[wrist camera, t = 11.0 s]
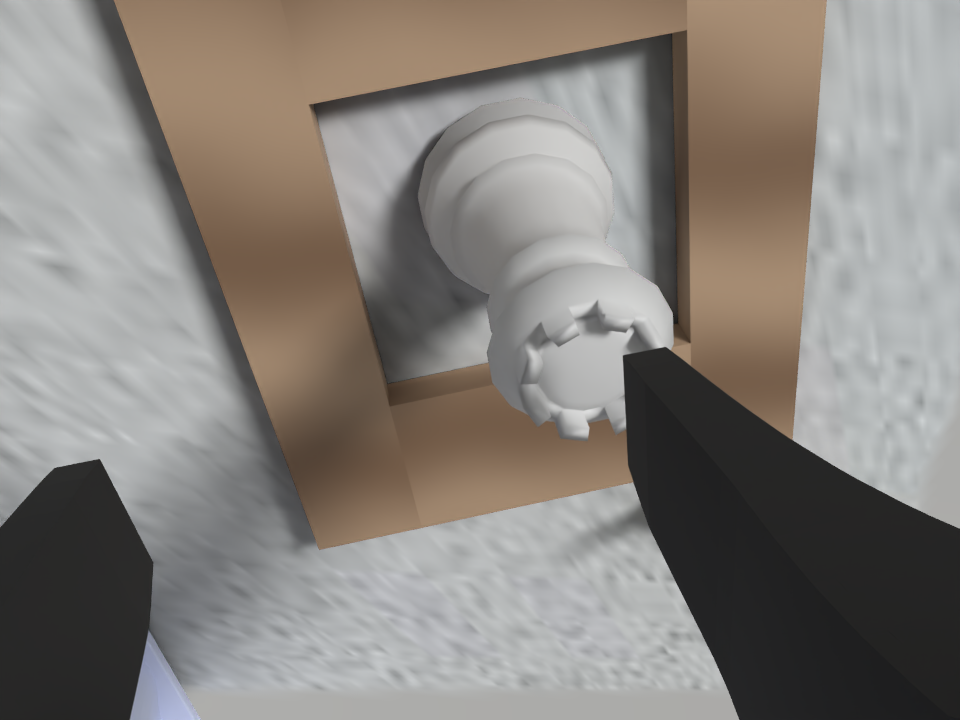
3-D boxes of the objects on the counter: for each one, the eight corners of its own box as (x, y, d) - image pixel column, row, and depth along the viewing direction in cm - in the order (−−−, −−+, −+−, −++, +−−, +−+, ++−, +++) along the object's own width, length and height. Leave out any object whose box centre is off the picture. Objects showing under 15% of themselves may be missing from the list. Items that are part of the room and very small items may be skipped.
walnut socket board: (777, 426, 26) (791, 448, 25) (319, 525, 26) (318, 549, 25) (820, -258, 16) (846, -259, 16) (84, -120, 16) (71, -114, 15)
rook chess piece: (549, 291, 22) (641, 507, 16) (387, 235, 21) (415, 449, 14) (636, 134, 20) (783, 309, 14) (463, 59, 19) (537, 216, 12)
